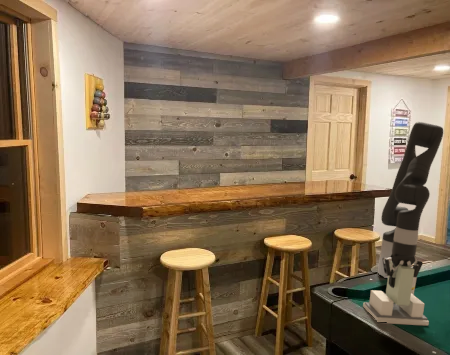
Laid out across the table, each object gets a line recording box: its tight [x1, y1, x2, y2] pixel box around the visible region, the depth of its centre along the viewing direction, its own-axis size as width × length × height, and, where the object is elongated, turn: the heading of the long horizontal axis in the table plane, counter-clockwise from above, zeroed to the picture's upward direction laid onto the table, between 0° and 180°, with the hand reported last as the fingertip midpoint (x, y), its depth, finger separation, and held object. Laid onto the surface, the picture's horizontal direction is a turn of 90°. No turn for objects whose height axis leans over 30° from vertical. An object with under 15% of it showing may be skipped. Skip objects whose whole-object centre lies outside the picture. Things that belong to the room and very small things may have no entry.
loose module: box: [385, 261, 414, 305], centre depth 131 cm, size 8×4×13 cm, turn 3°
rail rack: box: [362, 289, 430, 326], centre depth 133 cm, size 12×18×7 cm, turn 92°
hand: (398, 286), depth 132 cm, fingers closed on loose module, 4 cm apart
